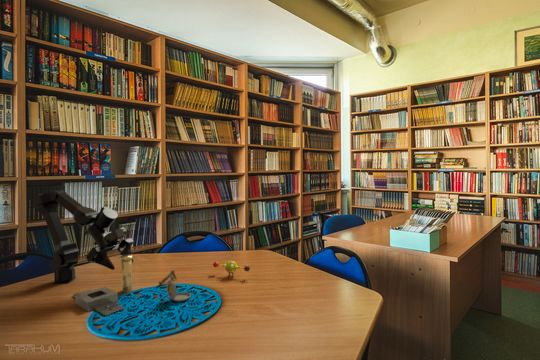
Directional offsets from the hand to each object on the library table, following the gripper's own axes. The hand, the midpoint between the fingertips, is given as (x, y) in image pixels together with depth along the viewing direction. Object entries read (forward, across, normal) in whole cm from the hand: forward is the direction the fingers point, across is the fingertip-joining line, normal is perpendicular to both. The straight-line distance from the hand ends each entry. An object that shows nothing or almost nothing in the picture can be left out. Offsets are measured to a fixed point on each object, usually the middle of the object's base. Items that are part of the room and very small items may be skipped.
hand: (123, 265), depth 121 cm
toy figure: (+30, +28, -16) cm, 44 cm away
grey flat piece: (+7, -12, +7) cm, 16 cm away
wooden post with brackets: (+15, +12, 0) cm, 19 cm away
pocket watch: (+25, 0, -11) cm, 27 cm away
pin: (+8, 0, +6) cm, 10 cm away
